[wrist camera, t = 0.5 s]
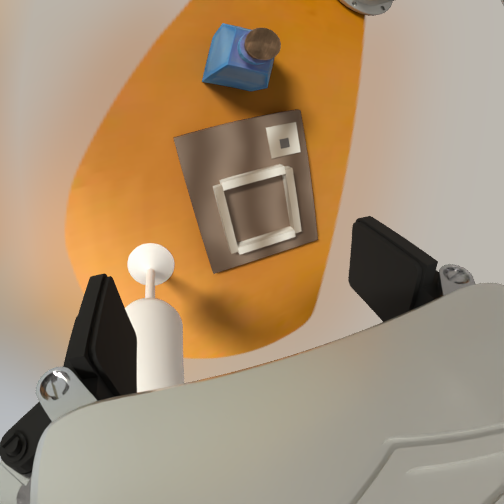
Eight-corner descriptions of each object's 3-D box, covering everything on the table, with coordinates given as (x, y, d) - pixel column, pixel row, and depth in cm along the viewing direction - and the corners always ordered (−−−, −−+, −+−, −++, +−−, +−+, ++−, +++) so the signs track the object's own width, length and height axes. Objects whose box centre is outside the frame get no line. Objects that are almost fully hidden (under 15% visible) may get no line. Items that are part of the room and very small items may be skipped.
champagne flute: (129, 240, 37) (108, 388, 16) (177, 245, 39) (204, 392, 19) (126, 283, 39) (116, 434, 19) (171, 287, 42) (193, 436, 21)
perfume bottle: (212, 36, 28) (235, 5, 18) (261, 47, 30) (302, 25, 20) (201, 81, 31) (219, 67, 20) (250, 91, 33) (289, 84, 22)
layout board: (295, 109, 35) (305, 110, 33) (313, 235, 45) (322, 243, 42) (173, 137, 33) (174, 139, 30) (211, 268, 42) (215, 279, 40)
